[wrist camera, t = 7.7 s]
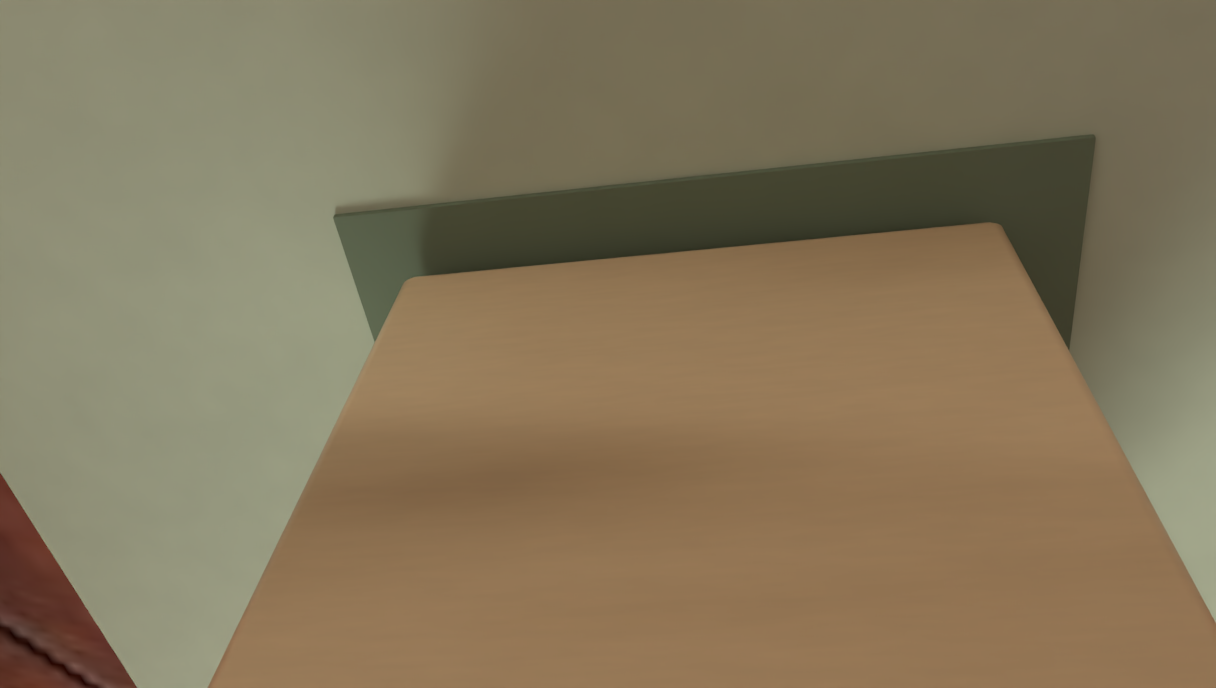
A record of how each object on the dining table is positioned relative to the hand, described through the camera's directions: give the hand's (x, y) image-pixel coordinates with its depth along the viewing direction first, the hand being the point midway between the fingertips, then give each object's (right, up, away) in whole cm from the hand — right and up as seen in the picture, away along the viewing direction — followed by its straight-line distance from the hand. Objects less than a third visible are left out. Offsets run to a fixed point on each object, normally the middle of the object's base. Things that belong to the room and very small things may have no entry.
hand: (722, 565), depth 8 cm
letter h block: (0, +1, +1) cm, 1 cm away
